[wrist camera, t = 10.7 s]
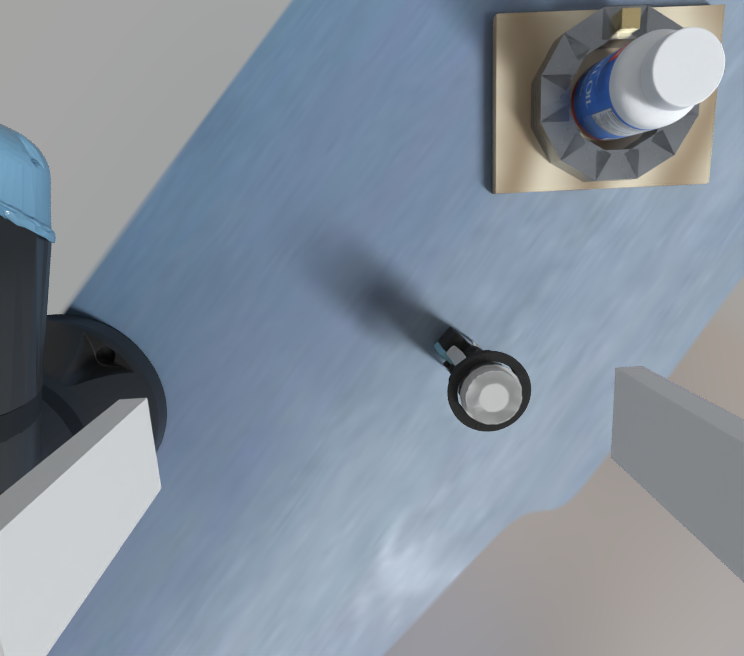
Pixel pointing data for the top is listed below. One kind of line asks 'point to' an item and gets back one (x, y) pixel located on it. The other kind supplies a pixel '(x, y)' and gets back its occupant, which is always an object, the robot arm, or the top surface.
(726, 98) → the top surface
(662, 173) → the board
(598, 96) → the pill bottle
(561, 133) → the ring
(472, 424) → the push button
